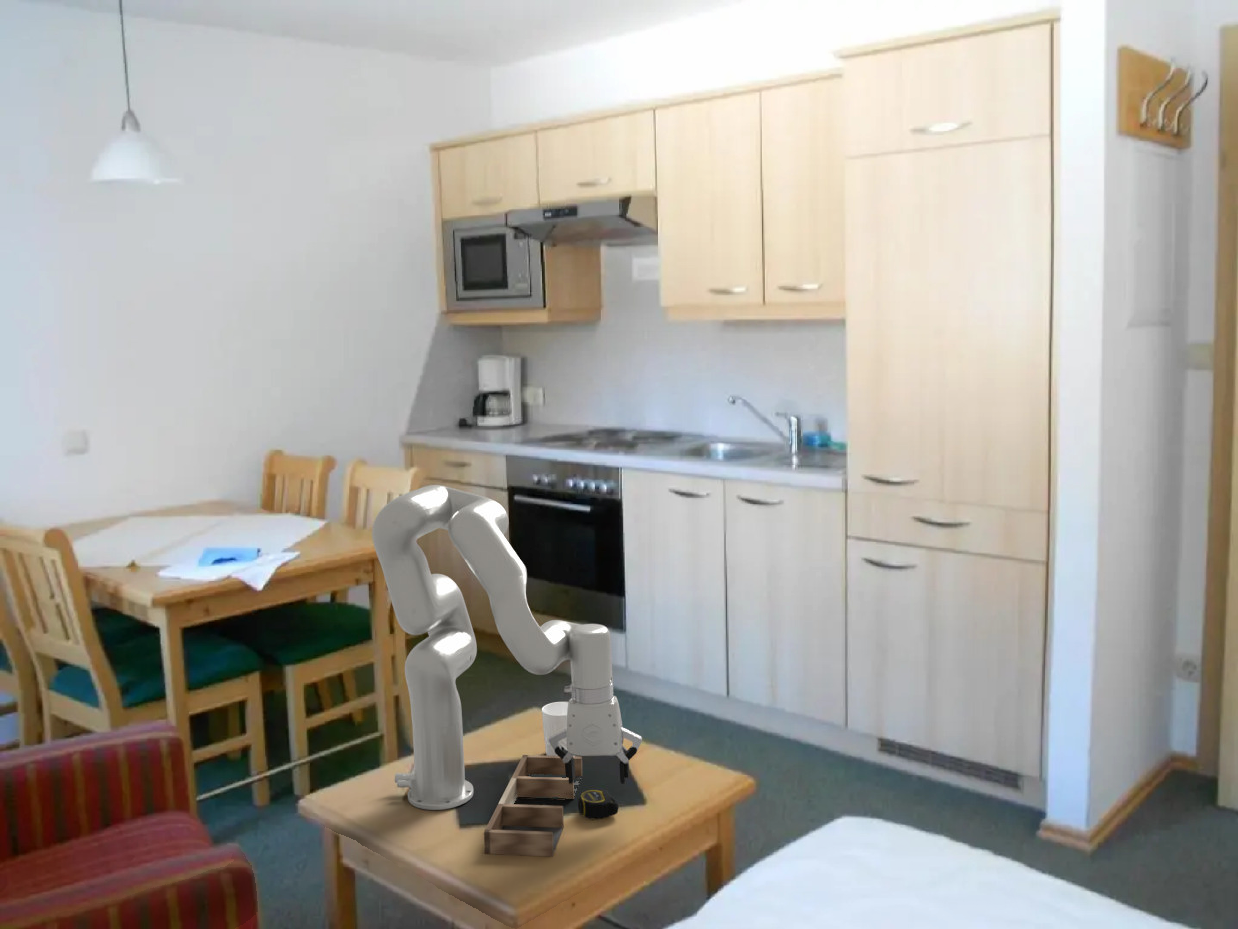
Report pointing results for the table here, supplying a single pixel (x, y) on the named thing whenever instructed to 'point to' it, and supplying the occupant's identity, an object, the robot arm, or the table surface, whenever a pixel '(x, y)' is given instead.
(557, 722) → the white cup
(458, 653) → the robot arm
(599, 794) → the tape measure
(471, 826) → the table surface
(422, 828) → the table surface
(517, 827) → the wooden wall shelf
